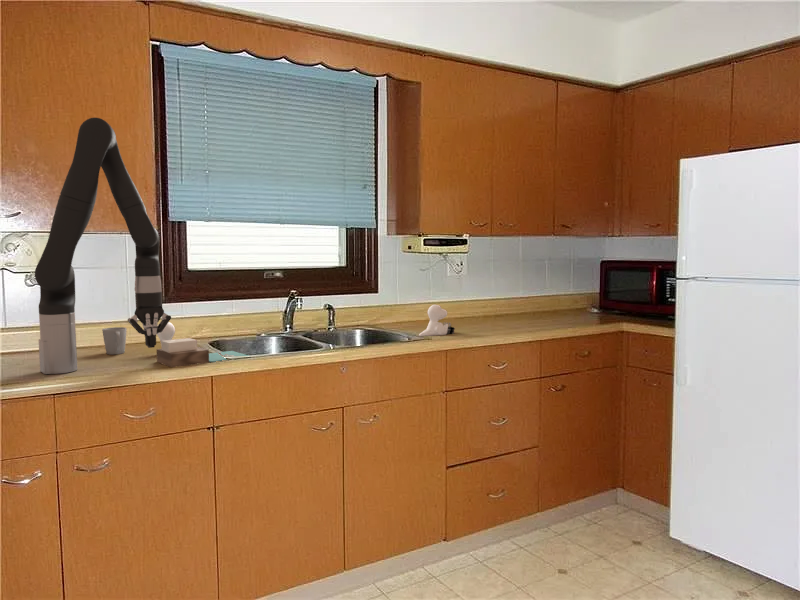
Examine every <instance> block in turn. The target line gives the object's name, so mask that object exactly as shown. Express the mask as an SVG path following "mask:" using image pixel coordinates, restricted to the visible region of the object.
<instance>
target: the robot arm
mask: <svg viewBox="0 0 800 600" xmlns="http://www.w3.org/2000/svg"><path fill="white" fill-rule="evenodd" d="M101 169H102V171H103V173H104V176H105V178H106V181H107V184H108V186H109V189H110V192H111V195H112V197H113V199H114V202H115V204H116V205H117V208H118V210H119V213H120V215H122V217H123V219H124V221H125V224H126V226H127V230H128V232H129V234H130V237H131V239H132V241H133V242H134V244H135V259H134V260H135V261H134V296H135V297H134V298H135V299H134V300H135V310H134V315H133V316H131V317H129V318H127V322H128V323H129V325H131V327H133V328H134V330H135V331H136V332H137V333H138V334H140V335H143V336H144V341H145V343H144V344H145V346H146V347H147V348H148V349H149V348H150V349H151V348H155V346H156V345H157V333H159V332H162V331H163V329H164V328H165V326H166V325H167V324H168V322H170V320H171V319H172V316H171V315H168V314H167V313H166V312H165V310H164V309H163V293H162V279H161V269H160V266H161V265H160V259H159V258H160V257H159V256H160V236H159V235H160V234H159V232H158V230H157V229H156V227H155V226H154V224H152V221H151V219H150V217H149V215H148V214H147V209H146V205H145V204H144V201H143V199H142V197H141V195H140V192H139V191H138V189H137V186H136V185H135V183H134V181H133V179H132V177H131V175H130V173H129V172H128V169H127V168H126V165H125V162H124V161H123V158H122V155H121V153H120V148H119V145H118V141H117V136H116V132H115V130H114V128H113V127H112V126H111V125H110V124H109V123H108V121H106V120H105V119H103V118H100V117H90V118H87V119H85V120H84V121H83V122H82V123H81V124H80V126H79V129H78V133H77V139H76V144H75V151H74V154H73V159H72V162H71V164H70V167H69V170H68V172H67V175H66V177H65V180H64V182H63V185H62V188H61V191H60V195H59V197H58V200H57V204H56V207H55V210H54V215H53V218H52V222H51V225H50V231H49V236H48V240H47V242H46V244H45V247H44V249H43V251H42V254H41V256H40V258H39V260H38V262H37V265H36V267H35V270H34V280H35V281H36V283H37V285H38V286H39V289H40V291H39V292H40V298H39V303H38V317H39V320H38V321H39V322H38V323H39V337H40V338H39V339H38V353H39V355H38V356H39V371H40V372H41V373H42V374H43V375H54V374H55V375H57V374H67V373H72V372H75V371H77V370H78V356H77V355H78V353H77V335H76V334H77V333H76V330H77V329H76V315H75V314H76V312H75V306H76V305H75V304H76V279H75V278H76V276H75V270H74V267H73V266H72V263H73V259H74V255H75V250H76V248H77V245H78V244H79V241H80V240H81V237H82V236H83V234H84V232H85V230H86V228H87V226H88V224H89V222H90V220H91V217H92V215H93V211H94V207H95V204H96V200H97V195H98V188H99V187H98V186H99V179H100V178H99V177H100V171H101ZM159 321H160V322H159ZM138 322H140V323H141V324H142V326H141V325H140V324H139V323H138ZM158 323H159V324H158ZM142 327H143V328H142Z"/></svg>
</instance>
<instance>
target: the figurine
mask: <svg viewBox="0 0 800 600" xmlns="http://www.w3.org/2000/svg"><path fill="white" fill-rule="evenodd" d="M427 316H428V318H429V322H428V324H427V327H426V329H424V330H423V331H421V332H420V333H419V334H418V337H430V336H431V337H432V336H447V335H453V334H455V330H456V328H455V327H453V326H452V323H451V322H445V321H444V322H439V321H440V320H443V319H445V318H447V316H448V311H447V310H446V309H445V308H442V306H441V305H438V304H432V305H431V306H429V307H428V309H427Z"/></svg>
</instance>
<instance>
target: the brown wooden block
mask: <svg viewBox="0 0 800 600" xmlns="http://www.w3.org/2000/svg"><path fill="white" fill-rule="evenodd" d="M209 353H210V350H209V349H207V348H203V347H200V346H197V350H189V351H180V352H171V353H168V352H165V351H162V348H157V349H156V363H159V364H162V365H164V364H165V366H167V367H169V368H176V366H177V367H185V366H190V365H191V364H192V365H198V364H197V363H200V364H206V363H205V362H208V363H210V362H209ZM184 365H185V366H184ZM192 365H191V366H192Z"/></svg>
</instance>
